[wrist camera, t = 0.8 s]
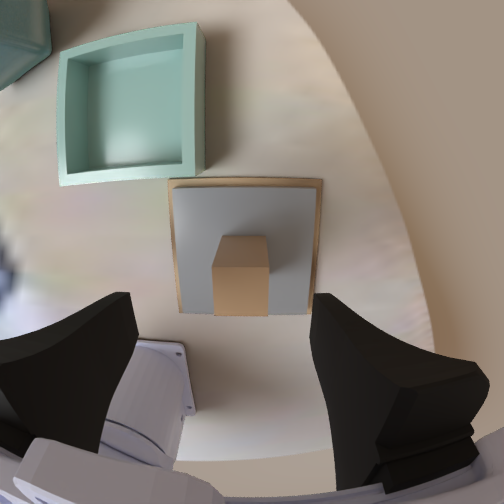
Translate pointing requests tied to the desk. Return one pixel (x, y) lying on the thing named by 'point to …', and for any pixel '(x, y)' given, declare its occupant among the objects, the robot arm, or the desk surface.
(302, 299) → the lid
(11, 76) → the flower pot
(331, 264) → the desk surface
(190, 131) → the dish
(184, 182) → the mat
